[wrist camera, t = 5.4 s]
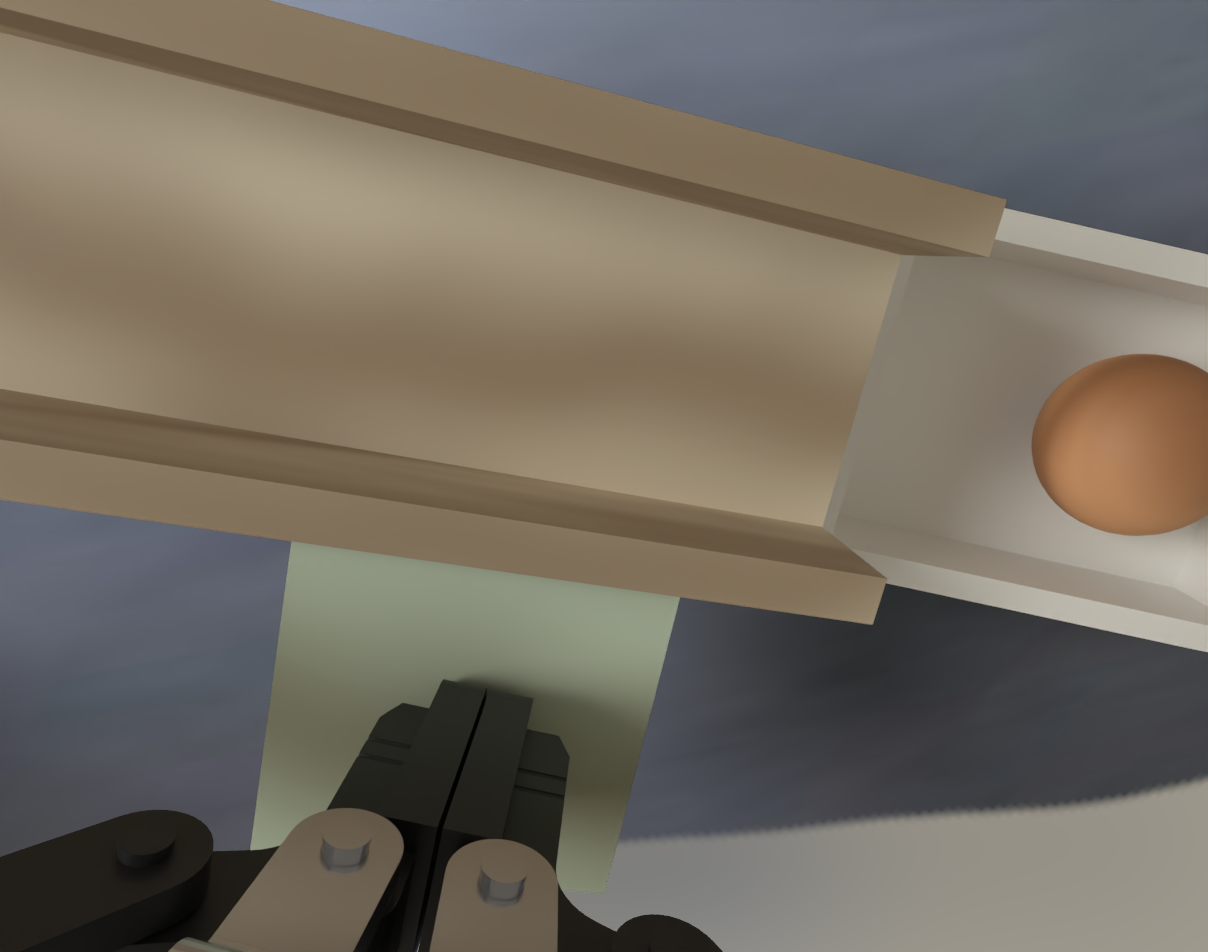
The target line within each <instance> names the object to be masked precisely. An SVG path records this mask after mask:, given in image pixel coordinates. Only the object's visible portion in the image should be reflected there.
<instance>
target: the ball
mask: <svg viewBox="0 0 1208 952" xmlns="http://www.w3.org/2000/svg"><path fill="white" fill-rule="evenodd" d="M1032 457H1033V463H1034V467H1035V471H1036V474H1037V476H1038V478H1039V481H1040V483H1041V485H1042V486H1043V488H1044V489H1045V491H1046V492H1047V494H1048V495H1049V497H1050V498H1051V499H1052V500H1053V501H1054V502H1055V503H1056V504H1057V505H1058V506H1059V507H1060V508H1061V509H1062V510H1064V511H1065V512H1066V513H1067V514H1069V515H1070V516H1071V517H1073V518H1075V519H1076V520H1078V521H1079V522H1082V523H1084V524H1086V525H1088V526H1090V527H1093V528H1095V529H1098V530H1101V531H1105V532H1108V533H1114V534H1120V535H1127V536H1145V535H1157V534H1162V533H1167V532H1171V531H1174V530H1177V529H1180V528H1183V527H1186V526H1188V525H1190V524H1192V523H1195V522H1197V521H1198V520H1200V519H1202V518H1204V517H1205V516H1207V515H1208V373H1207V372H1206V371H1204V370H1203V369H1201V368H1199V367H1197V366H1195V365H1193V364H1191V363H1188V362H1186V361H1183V360H1179V359H1176V358H1172V357H1169V356H1163V355H1156V354H1129V355H1121V356H1116V357H1112V358H1108V359H1104V360H1101V361H1098V362H1095V363H1093V364H1091V365H1089V366H1087V367H1085V368H1083V369H1081V370H1079V371H1078V372H1076V373H1075V374H1073V375H1072V376H1070V377H1069V378H1067V379H1066V380H1065V381H1064V382H1062V383H1061V384H1060V385H1059V386H1058V387H1057V388H1056V389H1055V390H1054V391H1053V392H1052V394H1051V395H1050V396H1049V398H1048V399H1047V400H1046V402H1045V403H1044V405H1043V407H1042V408H1041V410H1040V412H1039V415H1038V417H1037V419H1036V422H1035V426H1034V429H1033V435H1032Z"/></svg>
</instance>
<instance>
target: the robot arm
mask: <svg viewBox="0 0 1208 952" xmlns="http://www.w3.org/2000/svg"><path fill="white" fill-rule="evenodd" d="M486 695H487V688H483V687H478V686H473V685H469V684H464V683H459V682H455V681H450V680H445V679H443V680H442V682H441V684H440V686H439V688H438V690H437V692H436V695H435V697H434V699H433V701H432V703H431V705H430V707H429V708H425V707H421V706H416V705H411V704H406V703H401V704H400V705H398V706H396V707H395V708H393V709H392V710H390V711H388V712H387V713H385V714H384V715H382V716H380V718H379V719H378V721H377V723H376V724H375V726H374V728H373V730H372V731H371V733H370V735H369V737H368V740H366V742H365V744H364V745H363V747H362V749H361V751H360V752H359V756H358V757H357V758H356V759H355V761H354V763H353V764H352V766H351V768H350V770H349V771H348V773H347V775H346V777H345V778H344V780H343V782H342V784H341V785H340V787H339V789H338V791H337V792H336V794H335V796H334V798H333V799H332V801H331V803H330V804H329V806H328V808H327V810H326V811H322V812H319V813H316V814H313V815H311V816H309V817H307V818H306V819H304V820H302V821H301V822H300V823H299V824H297V825H296V826H295V827H294V828H293V830H292V831H291V832H290V833H289V835H288V836H287V837H286V839H285V840H284V841H283V843H282V844H281V845H280V846H276V847H272V848H267V849H260V850H245V851H214V852H213V837H212V834H211V832H210V830H209V829H208V827H207V826H206V825H205V824H204V823H203V822H201V821H200V820H198V819H197V818H195V817H193V816H190V815H188V814H185V813H181V812H177V811H169V810H148V811H140V812H135V813H130V814H127V815H123V816H120V817H117V818H114V819H111V820H108V821H105V822H102V823H99V824H96V825H93V826H90V827H87V828H84V829H81V830H78V831H75V832H73V833H70V834H67V835H64V836H61V837H58V838H55V839H52V840H49V841H46V842H43V843H40V844H37V845H34V846H31V847H28V848H25V849H22V850H19V851H16V852H13V853H11V854H8V855H5V856H2V857H0V952H417V949H418V946H419V950H418V952H722V950H721V949H720V948H719V947H718V946H717V945H716V944H715V943H714V942H713V941H712V940H711V939H710V938H709V937H708V936H707V935H706V934H704V933H703V932H702V931H700V930H699V929H697V928H696V927H694V926H692V925H691V924H689V923H687V922H684V921H682V920H680V919H677V918H673V917H670V916H664V915H643V916H639V917H635V918H632V919H631V920H629V921H627V922H625V923H624V924H623V925H622V926H621V927H620V928H619V929H618V931H617V932H616V931H613V930H611V929H609V928H607V927H605V926H603V925H601V924H599V923H597V922H596V921H594V920H592V919H590V918H589V917H587V916H585V915H584V914H583V913H581V912H580V911H579V910H578V909H577V908H575V907H574V906H573V905H572V904H571V903H570V901H569V900H568V899H567V898H566V896H565V895H564V893H563V891H562V890H561V888H560V885H559V883H558V880H557V875H556V864H557V856H558V848H559V839H560V831H561V823H562V815H563V807H564V798H565V791H566V783H567V782H566V781H567V775H568V767H569V759H570V757H569V755H568V753H567V751H566V749H565V747H564V745H563V743H562V741H561V739H560V737H559V736H557V735H553V734H548V733H543V732H539V731H534V730H529V729H527V727H528V722H529V718H530V713H531V709H532V704H533V699H534V698H530V697H526V696H521V695H516V694H512V693H507V692H502V691H498V690H493V689H490V691H489V694H488V697H487V700H486ZM485 701H486V703H485ZM419 943H420V945H419Z"/></svg>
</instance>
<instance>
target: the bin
mask: <svg viewBox="0 0 1208 952" xmlns="http://www.w3.org/2000/svg"><path fill="white" fill-rule="evenodd" d="M1129 354H1156V355H1163V356H1169V357H1172V358H1176V359H1179V360H1183V361H1186V362H1188V363H1191V364H1193V365H1195V366H1197V367H1199V368H1201V369H1203V370H1204V371H1206V372H1207V373H1208V255H1207V254H1203V253H1199V252H1194V251H1190V250H1185V249H1181V248H1177V247H1172V246H1168V245H1164V244H1159V243H1155V242H1150V241H1146V240H1142V239H1137V238H1133V237H1129V236H1124V235H1120V234H1115V233H1111V232H1107V231H1102V230H1098V229H1094V228H1089V227H1085V226H1080V225H1076V224H1072V223H1067V222H1063V221H1059V220H1054V219H1050V218H1045V217H1041V216H1037V215H1032V214H1028V213H1024V212H1019V211H1015V210H1010V209H1006V208H1004V211H1003V215H1002V218H1001V221H1000V224H999V227H998V230H997V233H996V237H995V240H994V243H993V246H992V249H991V252H990V256H989V257H957V256H915V255H902V257H901V260H900V264H899V267H898V270H897V274H896V277H895V281H894V284H893V288H892V291H891V294H890V298H889V301H888V305H887V308H886V312H885V315H884V318H883V322H882V325H881V329H880V332H879V335H878V339H877V342H876V346H875V349H874V353H873V356H872V359H871V363H870V366H869V370H868V373H867V377H866V380H865V383H864V387H863V390H862V394H861V397H860V401H859V404H858V407H857V411H856V414H855V418H854V421H853V424H852V428H851V431H850V435H849V438H848V442H847V445H846V448H845V452H844V455H843V459H842V462H841V466H840V469H839V472H838V476H837V479H836V483H835V486H834V490H833V493H832V496H831V500H830V503H829V507H828V510H827V513H826V517H825V520H824V524H823V528H824V529H826V530H827V531H828V532H829V533H831V534H832V535H833V536H835V537H836V538H837V539H838V540H840V541H841V542H842V543H843V544H845V545H846V546H847V547H848V548H850V549H851V550H852V551H853V552H855V553H856V554H857V555H858V556H860V557H861V558H862V559H863V560H865V561H866V562H867V563H868V564H870V565H871V566H872V567H873V568H875V569H876V570H877V571H878V572H880V573H881V574H882V575H883V576H885V577H886V578H887V581H886V583H887V584H892V585H897V586H901V587H906V588H911V589H915V590H920V591H925V592H929V593H934V594H939V595H943V596H948V597H953V598H957V599H962V600H967V601H971V602H976V603H981V604H985V605H990V606H994V607H999V608H1004V609H1008V610H1013V611H1018V612H1022V613H1027V614H1032V615H1036V616H1041V617H1046V618H1050V619H1055V620H1060V621H1064V622H1069V623H1074V624H1078V625H1083V626H1088V627H1092V628H1097V629H1102V630H1106V631H1111V632H1115V633H1120V634H1125V635H1129V636H1134V637H1139V638H1143V639H1148V640H1153V641H1157V642H1162V643H1167V644H1171V645H1176V646H1181V647H1185V648H1190V649H1195V650H1199V651H1204V652H1208V515H1207V516H1205V517H1204V518H1202V519H1200V520H1198V521H1197V522H1195V523H1192V524H1190V525H1188V526H1186V527H1183V528H1180V529H1177V530H1174V531H1171V532H1167V533H1162V534H1157V535H1145V536H1127V535H1120V534H1114V533H1108V532H1105V531H1101V530H1098V529H1095V528H1093V527H1090V526H1088V525H1086V524H1084V523H1082V522H1079V521H1078V520H1076V519H1075V518H1073V517H1071V516H1070V515H1069V514H1067V513H1066V512H1065V511H1064V510H1062V509H1061V508H1060V507H1059V506H1058V505H1057V504H1056V503H1055V502H1054V501H1053V500H1052V499H1051V498H1050V497H1049V495H1048V494H1047V492H1046V491H1045V489H1044V488H1043V486H1042V485H1041V483H1040V481H1039V478H1038V476H1037V474H1036V471H1035V467H1034V463H1033V457H1032V435H1033V429H1034V426H1035V422H1036V419H1037V417H1038V415H1039V412H1040V410H1041V408H1042V407H1043V405H1044V403H1045V402H1046V400H1047V399H1048V398H1049V396H1050V395H1051V394H1052V392H1053V391H1054V390H1055V389H1056V388H1057V387H1058V386H1059V385H1060V384H1061V383H1062V382H1064V381H1065V380H1066V379H1067V378H1069V377H1070V376H1072V375H1073V374H1075V373H1076V372H1078V371H1079V370H1081V369H1083V368H1085V367H1087V366H1089V365H1091V364H1093V363H1095V362H1098V361H1101V360H1104V359H1108V358H1112V357H1116V356H1121V355H1129Z"/></svg>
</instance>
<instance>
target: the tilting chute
mask: <svg viewBox="0 0 1208 952" xmlns="http://www.w3.org/2000/svg"><path fill="white" fill-rule="evenodd" d="M1006 202H1007V200H1006V199H1002V198H998V197H995V196H991V195H987V194H983V193H980V192H976V191H972V190H969V189H965V188H961V187H958V186H954V185H950V184H946V183H943V182H939V181H935V180H932V179H928V178H924V177H921V176H917V175H913V174H909V173H906V172H902V171H898V170H895V169H891V168H887V167H884V166H880V165H876V164H873V163H869V162H865V161H861V160H858V159H854V158H850V157H847V156H843V155H839V154H836V153H832V152H828V151H824V150H821V149H817V148H813V147H810V146H806V145H802V144H799V143H795V142H791V141H787V140H784V139H780V138H776V137H773V136H769V135H765V134H762V133H758V132H754V131H750V130H747V129H743V128H739V127H736V126H732V125H728V124H725V123H721V122H717V121H713V120H710V119H706V118H702V117H699V116H695V115H691V114H688V113H684V112H680V111H676V110H673V109H669V108H665V107H662V106H658V105H654V104H651V103H647V102H643V101H639V100H636V99H632V98H628V97H625V96H621V95H617V94H614V93H610V92H606V91H603V90H599V89H595V88H591V87H588V86H584V85H580V84H577V83H573V82H569V81H566V80H562V79H558V78H554V77H551V76H547V75H543V74H540V73H536V72H532V71H529V70H525V69H521V68H517V67H514V66H510V65H506V64H503V63H499V62H495V61H492V60H488V59H484V58H480V57H477V56H473V55H469V54H466V53H462V52H458V51H455V50H451V49H447V48H443V47H440V46H436V45H432V44H429V43H425V42H421V41H418V40H414V39H410V38H406V37H403V36H399V35H395V34H392V33H388V32H384V31H381V30H377V29H373V28H370V27H366V26H362V25H358V24H355V23H351V22H347V21H344V20H340V19H336V18H333V17H329V16H325V15H321V14H318V13H314V12H310V11H307V10H303V9H299V8H296V7H292V6H288V5H284V4H281V3H277V2H273V1H270V0H0V500H7V501H14V502H21V503H28V504H35V505H42V506H49V507H56V508H63V509H70V510H77V511H84V512H91V513H97V514H104V515H111V516H118V517H125V518H132V519H139V520H146V521H153V522H160V523H167V524H174V525H181V526H188V527H195V528H202V529H209V530H216V531H223V532H230V533H237V534H244V535H251V536H258V537H265V538H272V539H279V540H285V541H292V542H291V549H290V557H289V564H288V571H287V579H286V586H285V594H284V601H283V609H282V616H281V624H280V631H279V639H278V646H277V654H276V661H275V669H274V676H273V684H272V691H271V699H270V706H269V714H268V721H267V729H266V736H265V744H264V751H263V759H262V766H261V774H260V781H259V788H258V796H257V803H256V811H255V818H254V826H253V833H252V841H251V848H250V850H260V849H267V848H272V847H276V846H280V845H281V844H282V843H283V841H284V840H285V839H286V837H287V836H288V835H289V833H290V832H291V831H292V830H293V828H294V827H295V826H296V825H297V824H299V823H300V822H301V821H302V820H304V819H306V818H307V817H309V816H311V815H313V814H316V813H319V812H322V811H326V810H327V808H328V806H329V804H330V803H331V801H332V799H333V798H334V796H335V794H336V792H337V791H338V789H339V787H340V785H341V784H342V782H343V780H344V778H345V777H346V775H347V773H348V771H349V770H350V768H351V766H352V764H353V763H354V761H355V759H356V758H357V757H358V756H359V752H360V751H361V749H362V747H363V745H364V744H365V742H366V740H368V737H369V735H370V733H371V731H372V730H373V728H374V726H375V724H376V723H377V721H378V719H379V718H380V716H382V715H384V714H385V713H387V712H388V711H390V710H392V709H393V708H395V707H396V706H398V705H400V704H401V703H406V704H411V705H416V706H421V707H425V708H429V707H430V705H431V703H432V701H433V699H434V697H435V695H436V692H437V690H438V688H439V686H440V684H441V682H442V680H443V679H445V680H450V681H455V682H459V683H464V684H469V685H473V686H478V687H483V688H487V695H486V700H487V697H488V694H489V691H490V689H493V690H498V691H502V692H507V693H512V694H516V695H521V696H526V697H530V698H534V699H533V704H532V709H531V713H530V718H529V722H528V727H527V729H529V730H534V731H539V732H543V733H548V734H553V735H557V736H559V737H560V739H561V741H562V743H563V745H564V747H565V749H566V751H567V753H568V755H569V757H570V759H569V767H568V775H567V781H566V782H567V783H566V791H565V798H564V807H563V815H562V823H561V831H560V839H559V848H558V856H557V864H556V875H557V880H558V883H559V885H560V888H561V890H562V891H575V892H590V893H605V889H606V886H607V882H608V878H609V874H610V870H611V866H612V862H613V858H614V854H615V850H616V847H617V843H618V839H619V835H620V831H621V827H622V823H623V819H624V815H625V811H626V807H627V803H628V799H629V796H630V792H631V788H632V784H633V780H634V776H635V772H636V768H637V764H638V760H639V756H640V752H641V748H642V745H643V741H644V737H645V733H646V729H647V725H648V721H649V717H650V713H651V709H652V705H653V701H654V697H655V693H656V690H657V686H658V682H659V678H660V674H661V670H662V666H663V662H664V658H665V654H666V650H667V646H668V642H669V639H670V635H671V631H672V627H673V623H674V619H675V615H676V611H677V607H678V603H679V599H680V597H682V598H689V599H696V600H703V601H710V602H717V603H724V604H731V605H738V606H745V607H752V608H759V609H766V610H773V611H780V612H787V613H794V614H801V615H808V616H815V617H822V618H829V619H836V620H843V621H850V622H856V623H863V624H870V625H873V622H874V619H875V616H876V613H877V610H878V606H879V603H880V600H881V597H882V594H883V591H884V587H885V584H886V581H887V578H886V577H885V576H883V575H882V574H881V573H880V572H878V571H877V570H876V569H875V568H873V567H872V566H871V565H870V564H868V563H867V562H866V561H865V560H863V559H862V558H861V557H860V556H858V555H857V554H856V553H855V552H853V551H852V550H851V549H850V548H848V547H847V546H846V545H845V544H843V543H842V542H841V541H840V540H838V539H837V538H836V537H835V536H833V535H832V534H831V533H829V532H828V531H827V530H826V529H824V528H823V524H824V520H825V517H826V513H827V510H828V507H829V503H830V500H831V496H832V493H833V490H834V486H835V483H836V479H837V476H838V472H839V469H840V466H841V462H842V459H843V455H844V452H845V448H846V445H847V442H848V438H849V435H850V431H851V428H852V424H853V421H854V418H855V414H856V411H857V407H858V404H859V401H860V397H861V394H862V390H863V387H864V383H865V380H866V377H867V373H868V370H869V366H870V363H871V359H872V356H873V353H874V349H875V346H876V342H877V339H878V335H879V332H880V329H881V325H882V322H883V318H884V315H885V312H886V308H887V305H888V301H889V298H890V294H891V291H892V288H893V284H894V281H895V277H896V274H897V270H898V267H899V264H900V260H901V257H902V255H915V256H957V257H989V256H990V252H991V249H992V246H993V243H994V240H995V237H996V233H997V230H998V227H999V224H1000V221H1001V218H1002V215H1003V211H1004V208H1005V205H1006ZM485 703H486V701H485Z"/></svg>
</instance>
